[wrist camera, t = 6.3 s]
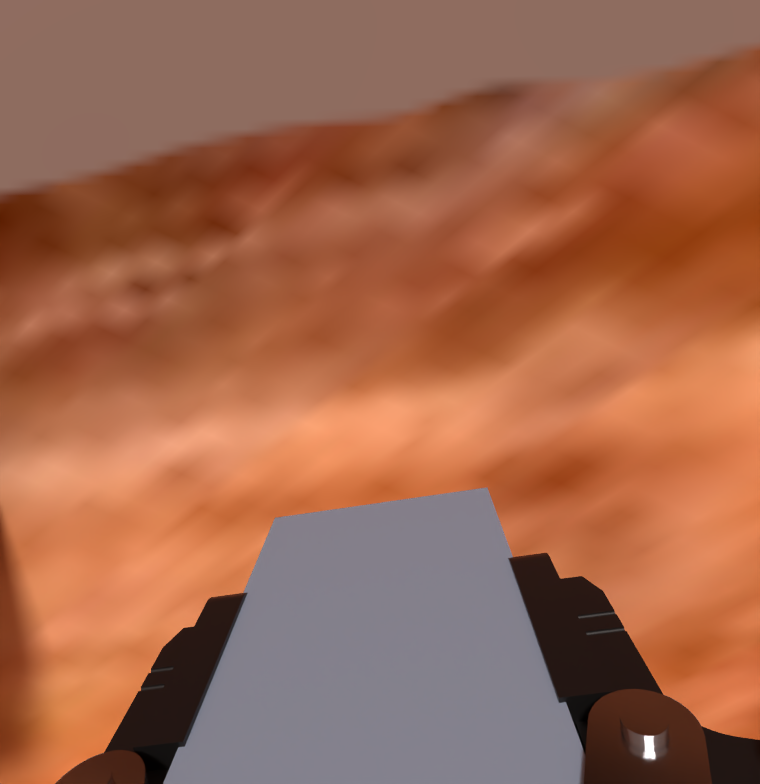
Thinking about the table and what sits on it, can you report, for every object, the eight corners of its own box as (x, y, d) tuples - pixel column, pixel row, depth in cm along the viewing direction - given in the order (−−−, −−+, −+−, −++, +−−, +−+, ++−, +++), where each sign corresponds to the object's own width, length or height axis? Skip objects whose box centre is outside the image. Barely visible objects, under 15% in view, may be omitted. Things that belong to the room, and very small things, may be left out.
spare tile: (487, 487, 14) (702, 1075, 4) (497, 564, 14) (711, 1250, 5) (274, 517, 14) (17, 1129, 4) (291, 592, 15) (92, 1288, 5)
